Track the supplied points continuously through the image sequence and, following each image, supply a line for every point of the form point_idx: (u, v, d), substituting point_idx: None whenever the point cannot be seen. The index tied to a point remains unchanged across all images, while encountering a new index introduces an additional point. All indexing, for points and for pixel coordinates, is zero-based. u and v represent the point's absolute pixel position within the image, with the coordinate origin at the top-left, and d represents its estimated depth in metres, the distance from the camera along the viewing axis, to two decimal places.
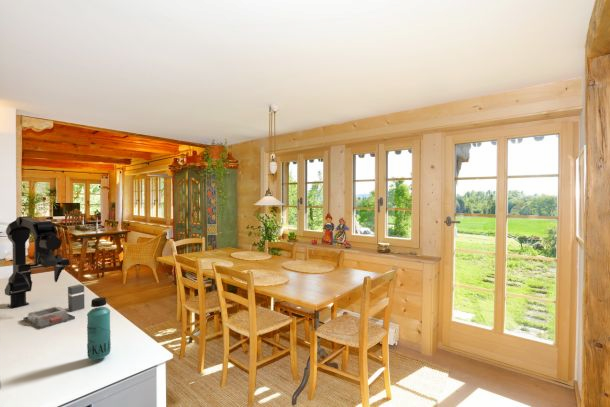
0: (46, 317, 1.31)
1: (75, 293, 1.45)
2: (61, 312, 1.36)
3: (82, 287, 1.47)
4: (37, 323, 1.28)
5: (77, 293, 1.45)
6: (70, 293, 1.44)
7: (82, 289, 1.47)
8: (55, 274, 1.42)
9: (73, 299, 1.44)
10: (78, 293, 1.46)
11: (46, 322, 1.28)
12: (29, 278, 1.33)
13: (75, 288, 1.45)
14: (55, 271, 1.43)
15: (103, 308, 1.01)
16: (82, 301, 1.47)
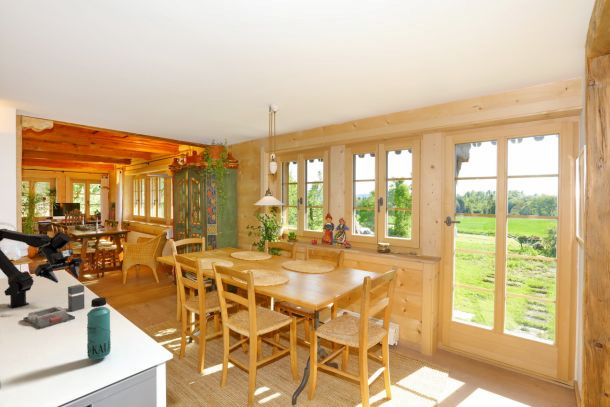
0: (46, 317, 1.31)
1: (75, 293, 1.45)
2: (61, 312, 1.36)
3: (82, 287, 1.47)
4: (37, 323, 1.28)
5: (77, 293, 1.45)
6: (70, 293, 1.44)
7: (82, 289, 1.47)
8: (74, 272, 1.54)
9: (73, 299, 1.44)
10: (78, 293, 1.46)
11: (46, 322, 1.28)
12: (53, 274, 1.44)
13: (75, 288, 1.45)
14: (73, 271, 1.54)
15: (103, 308, 1.01)
16: (82, 301, 1.47)
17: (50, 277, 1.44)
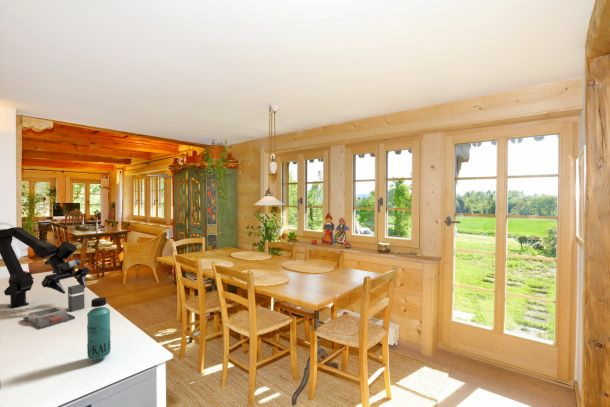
0: (46, 317, 1.31)
1: (75, 293, 1.45)
2: (61, 312, 1.36)
3: (82, 287, 1.47)
4: (37, 323, 1.28)
5: (77, 293, 1.45)
6: (70, 293, 1.44)
7: (82, 289, 1.47)
8: (81, 282, 1.52)
9: (73, 299, 1.44)
10: (78, 293, 1.46)
11: (46, 322, 1.28)
12: (60, 285, 1.43)
13: (75, 288, 1.45)
14: (79, 281, 1.53)
15: (103, 308, 1.01)
16: (82, 301, 1.47)
17: (57, 288, 1.42)
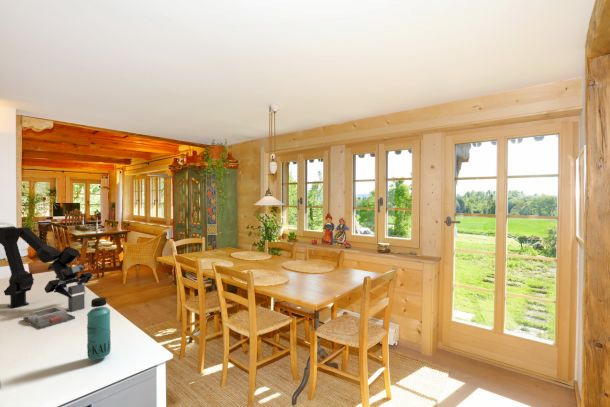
0: (46, 317, 1.31)
1: (75, 293, 1.45)
2: (61, 312, 1.36)
3: (82, 287, 1.47)
4: (37, 323, 1.28)
5: (78, 293, 1.45)
6: (71, 293, 1.44)
7: (82, 289, 1.47)
8: None
9: (73, 299, 1.44)
10: (78, 293, 1.46)
11: (46, 322, 1.28)
12: (67, 289, 1.43)
13: (75, 288, 1.45)
14: None
15: (103, 308, 1.01)
16: (82, 301, 1.47)
17: (64, 292, 1.43)
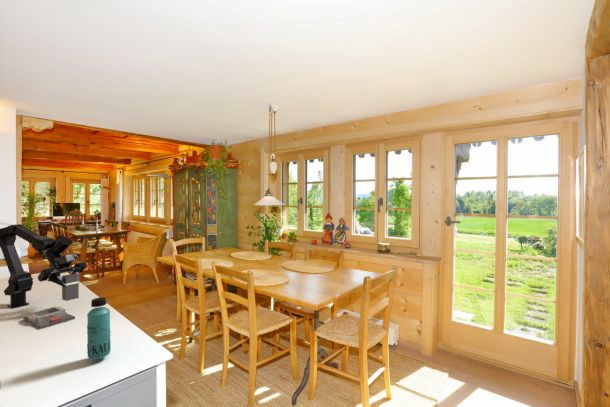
0: (46, 317, 1.31)
1: (69, 282, 1.42)
2: (61, 312, 1.36)
3: (77, 276, 1.45)
4: (37, 323, 1.28)
5: (72, 282, 1.43)
6: None
7: (76, 278, 1.45)
8: None
9: (67, 288, 1.42)
10: (72, 282, 1.43)
11: (46, 322, 1.28)
12: (61, 278, 1.41)
13: (69, 277, 1.42)
14: None
15: (103, 308, 1.01)
16: (76, 290, 1.45)
17: (58, 281, 1.41)
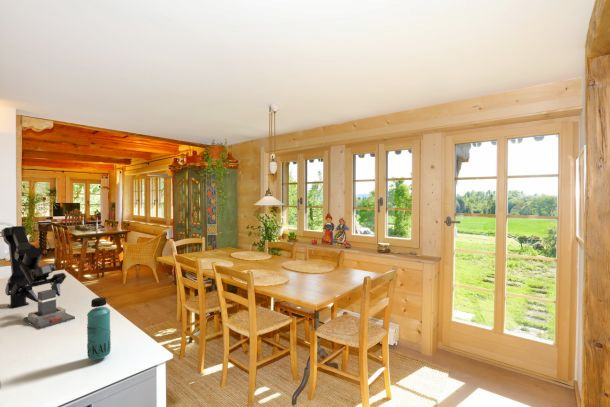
0: (46, 317, 1.31)
1: (46, 299, 1.33)
2: (61, 312, 1.36)
3: (54, 292, 1.36)
4: (37, 323, 1.28)
5: (48, 299, 1.34)
6: (40, 299, 1.33)
7: (54, 294, 1.36)
8: None
9: (43, 305, 1.33)
10: (49, 299, 1.34)
11: (46, 322, 1.28)
12: (32, 293, 1.31)
13: (46, 293, 1.33)
14: (54, 288, 1.40)
15: (103, 308, 1.01)
16: (54, 307, 1.36)
17: (29, 296, 1.31)
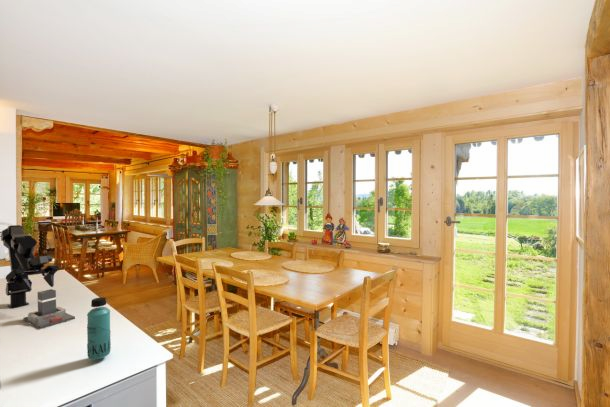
0: (46, 317, 1.31)
1: (46, 299, 1.33)
2: (61, 312, 1.36)
3: (54, 292, 1.36)
4: (37, 323, 1.28)
5: (48, 299, 1.34)
6: (40, 299, 1.33)
7: (54, 294, 1.36)
8: (48, 281, 1.42)
9: (43, 305, 1.33)
10: (49, 299, 1.34)
11: (46, 322, 1.28)
12: (27, 281, 1.32)
13: (46, 293, 1.33)
14: (47, 279, 1.43)
15: (103, 308, 1.01)
16: (54, 307, 1.36)
17: (23, 284, 1.32)
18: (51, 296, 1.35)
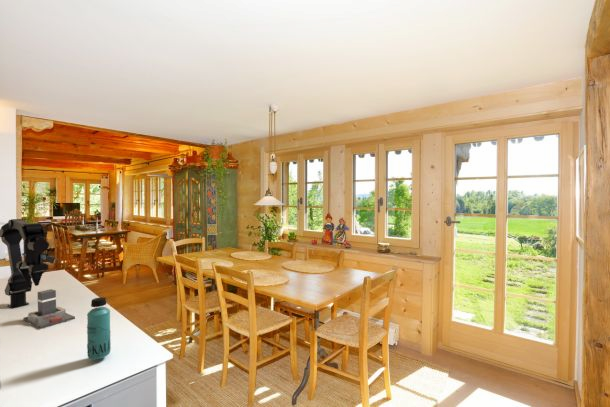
0: (46, 317, 1.31)
1: (46, 299, 1.33)
2: (61, 312, 1.36)
3: (54, 292, 1.36)
4: (37, 323, 1.28)
5: (48, 299, 1.34)
6: (40, 299, 1.33)
7: (54, 294, 1.36)
8: (27, 275, 1.45)
9: (43, 305, 1.33)
10: (49, 299, 1.34)
11: (46, 322, 1.28)
12: None
13: (46, 293, 1.33)
14: (25, 273, 1.45)
15: (103, 308, 1.01)
16: (54, 307, 1.36)
17: (36, 278, 1.39)
18: (51, 296, 1.35)
